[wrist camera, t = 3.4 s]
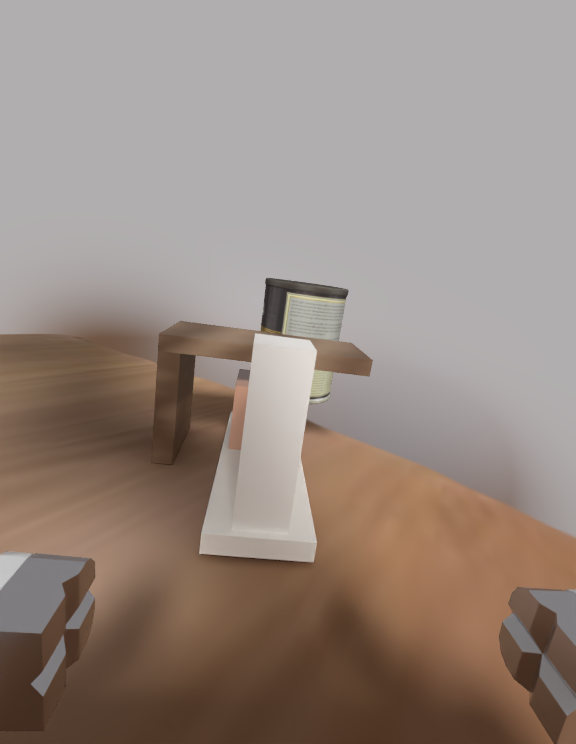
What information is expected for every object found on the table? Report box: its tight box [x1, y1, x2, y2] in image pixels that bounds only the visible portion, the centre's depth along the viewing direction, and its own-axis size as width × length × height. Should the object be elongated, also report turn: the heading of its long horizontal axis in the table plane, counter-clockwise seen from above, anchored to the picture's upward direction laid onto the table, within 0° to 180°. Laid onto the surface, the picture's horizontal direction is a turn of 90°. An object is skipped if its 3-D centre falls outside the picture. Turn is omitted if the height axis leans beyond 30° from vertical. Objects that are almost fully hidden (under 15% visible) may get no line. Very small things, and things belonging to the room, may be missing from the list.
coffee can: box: [261, 278, 348, 404], centre depth 50 cm, size 10×10×14 cm
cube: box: [229, 369, 250, 450], centre depth 32 cm, size 5×5×5 cm
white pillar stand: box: [199, 333, 317, 562], centre depth 28 cm, size 6×18×11 cm, turn 3°
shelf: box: [152, 321, 373, 465], centre depth 32 cm, size 15×7×10 cm, turn 93°
